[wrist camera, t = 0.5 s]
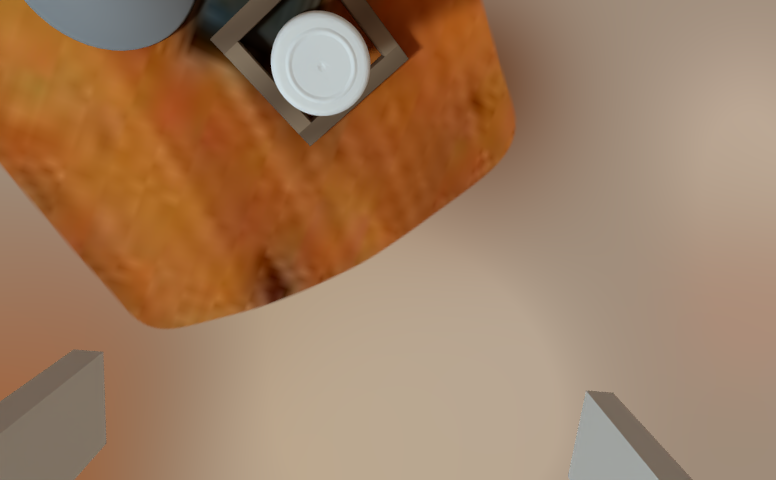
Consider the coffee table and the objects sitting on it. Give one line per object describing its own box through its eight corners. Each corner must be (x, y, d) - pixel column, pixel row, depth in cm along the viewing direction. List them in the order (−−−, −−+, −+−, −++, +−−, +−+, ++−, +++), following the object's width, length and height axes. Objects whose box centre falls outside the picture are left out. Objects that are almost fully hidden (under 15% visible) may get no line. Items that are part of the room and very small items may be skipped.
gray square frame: (213, 38, 32) (210, 39, 30) (316, -63, 30) (317, -66, 29) (309, 141, 36) (310, 146, 35) (404, 57, 34) (408, 58, 33)
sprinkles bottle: (293, -1, 32) (291, -11, 20) (355, 31, 33) (388, 40, 21) (270, 65, 33) (255, 93, 21) (330, 92, 35) (348, 133, 23)
